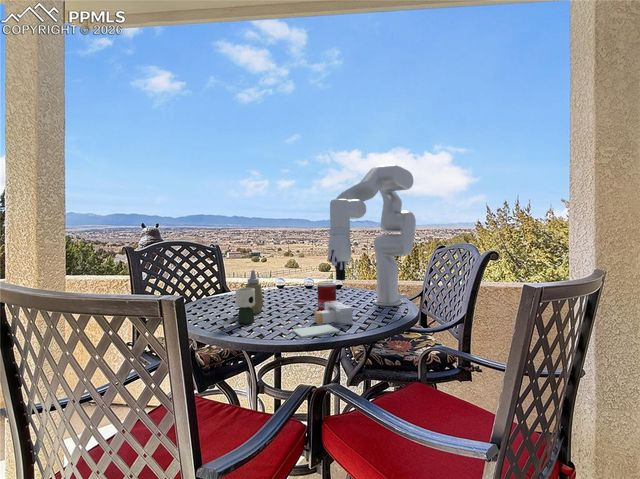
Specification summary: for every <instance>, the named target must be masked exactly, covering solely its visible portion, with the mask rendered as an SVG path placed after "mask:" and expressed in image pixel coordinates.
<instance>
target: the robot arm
mask: <svg viewBox="0 0 640 479" xmlns="http://www.w3.org/2000/svg"><path fill="white" fill-rule="evenodd" d="M413 185H414V175H413V174H412V172H410V171H409V170H408V169H406V168H404V167H401V166H399V165H397V164H386V165H385V164H384V165H378V166H374V167H373V168H372V167H371V169H370V170H369V171H368V172H367V173H366V174H365V176H364V177H363V178H362V179H360V182H358V183H357V184H355V185H352V186H351V187H350V188H347V189H345V190H344V191H342V192H341V193H339V194H338V195H337V197H336V198H335V199H332V200H330V202H329V238H328V245H327V246H328V247H327V248H328V249H327V261H328V262H329V263H331V266H334V270H335V280H336V281H345V280H346V269H347V264H349V263H350V262H349V261H350V260H351V258H352V246H351V245H352V244H351V238H350V236H351V228H350V227H351V223H350V222H351V220H355V219H361V218H362V217H364V216H365V215H366V213H367V205H366V204H365V202H367V201H369V200H371V199H373V198H374V197H375V196H376V195H377V194H378V193H379V192H380V195H381V198H382V202H383V203H382V211H381V218H380V229H381V231H383V232H386V233H383V234H380V235H377V236H376V237H375V238H374V241H373V248H374V253H375V261H376V299H374V300H373V304H374V305H377V306H381V307H395V306H400V305H402V302H403V301H402V299H407V298H408V294H407V293H402V294H401V293H399V280H398V279H399V276H398V275H399V273H398V272H399V268H398V267H399V266H398V262H397V260H396V259H395V257H394V256H396V257H397V256H398V257H402V256H403V257H405V256H406V257H407V256H409V255H410V254H411V253H412V252H413V247H414V243H415V242H414V240H415V234H416V222H417V221H416V217H415V214H414V213H413V212H411V211H409V210H402V205H403V202H402V199H401V197H400V196H399V195H398V194H397V191H407V190H410V189H411V188H412V187H413ZM393 233H394V234H393ZM395 233H396V234H395Z"/></svg>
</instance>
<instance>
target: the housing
mask: <svg viewBox="0 0 640 479" xmlns="http://www.w3.org/2000/svg"><path fill="white" fill-rule="evenodd" d="M324 305H325V310H333V309H336V322H335V324H337V325H338V326H347V325H353V324H354V320H353V319H354V315H353V314H354V313H353V312H354V311H353V307H352V306H350V305H347V304H345V303H342V302H340V301H337V300H336V301H330V302H324Z"/></svg>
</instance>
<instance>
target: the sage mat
mask: <svg viewBox="0 0 640 479" xmlns="http://www.w3.org/2000/svg"><path fill="white" fill-rule="evenodd" d="M291 330H292V332H293V333H294V334H296V335H297V336H298V337H299V338H301V339H305V338H311V337H316V336H317V335H318V336H324V334H325V335H331V333H332V334H337V333H341V330H340V329H338V328H336V327H334V326H332V325H331V324H330V323H327V324H320V325H315V326H307V327H301V328H294V329H291ZM310 336H311V337H310ZM318 336H317V337H318Z"/></svg>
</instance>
